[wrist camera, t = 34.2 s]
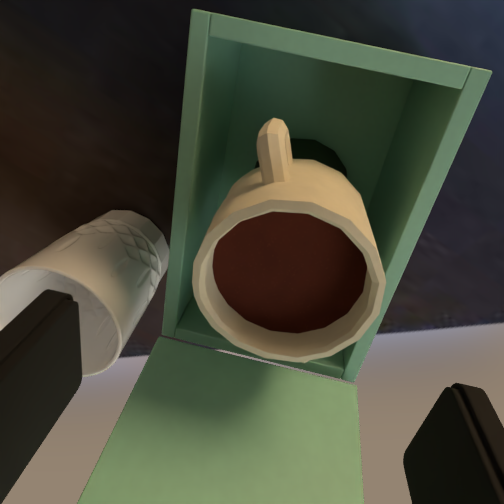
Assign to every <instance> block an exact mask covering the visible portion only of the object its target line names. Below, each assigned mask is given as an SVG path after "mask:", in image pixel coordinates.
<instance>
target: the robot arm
mask: <svg viewBox="0 0 504 504" xmlns="http://www.w3.org/2000/svg"><path fill="white" fill-rule="evenodd" d="M81 380H82V357H81V339H80V320H79V305H78V302H76V301H73V297H72V295H71V294H68V293H63V292H59V291H55V290H50V289H47V290H45V291H43V292H42V293H41V294H40V295H39V296H38V297H36V298H35V299H34V300H33V301H32V302H31V303H30V304H29V305H28V306H27V307H26V308H25V309H23V310H22V311H21V312H20V313H19V314H18V315H17V316H16V317H15V318H14V319H13V320H12V321H11V322H9V323H8V324H7V325H6V326H5V327H4V328H3V329H2V330H1V331H0V504H1V503H2V502H3V500H4V499H5V497H6V496H7V494H8V493H9V491H10V490H11V488H12V487H13V486H14V484H15V482H16V481H17V480H18V478H19V477H20V475H21V474H22V472H23V471H24V469H25V468H26V466H27V465H28V463H29V462H30V460H31V458H32V457H33V456H34V454H35V453H36V451H37V450H38V448H39V447H40V445H41V444H42V442H43V441H44V439H45V438H46V436H47V435H48V433H49V432H50V430H51V429H52V427H53V426H54V424H55V423H56V421H57V420H58V418H59V417H60V415H61V414H62V412H63V411H64V409H65V408H66V406H67V405H68V403H69V402H70V400H71V399H72V397H73V396H74V394H75V393H76V391H77V390H78V388H79V386H80V384H81ZM403 464H404V469H405V474H406V478H407V482H408V487H409V491H410V496H411V500H412V504H504V428H503V426H502V424H501V422H500V420H499V418H498V416H497V414H496V412H495V410H494V408H493V406H492V404H491V402H490V400H489V398H488V397H487V395H486V393H485V392H484V390H482V389H481V388H477V387H473V386H468V385H464V384H459V383H455V384H453V385H452V386H451V387H446V388H445V389H444V391H443V392H442V393H441V395H440V397H439V398H438V400H437V401H436V403H435V404H434V406H433V408H432V409H431V411H430V413H429V414H428V416H427V417H426V419H425V421H424V422H423V424H422V425H421V427H420V428H419V430H418V432H417V433H416V435H415V436H414V438H413V439H412V441H411V443H410V444H409V446H408V448H407V449H406V451H405V453H404V459H403Z"/></svg>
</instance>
